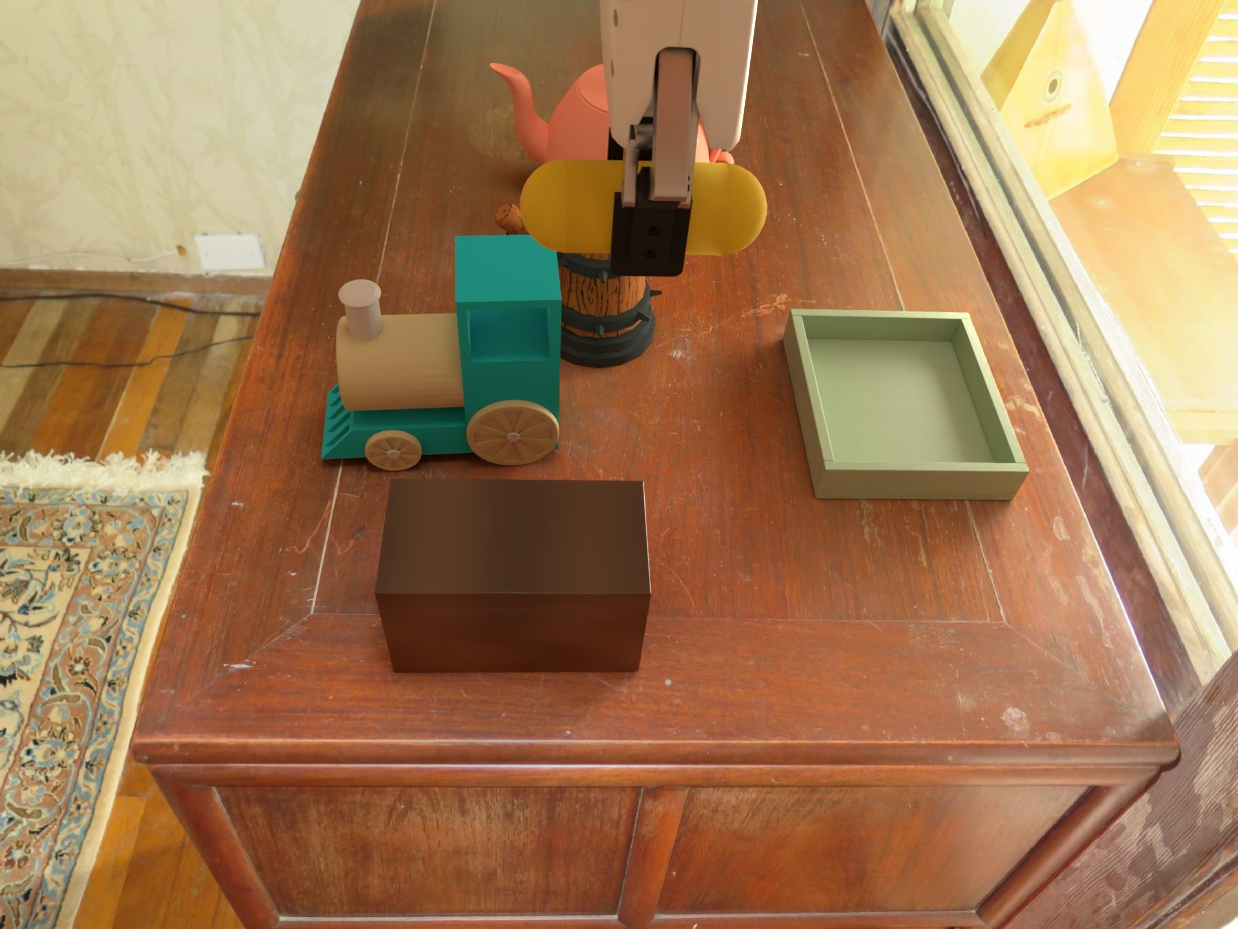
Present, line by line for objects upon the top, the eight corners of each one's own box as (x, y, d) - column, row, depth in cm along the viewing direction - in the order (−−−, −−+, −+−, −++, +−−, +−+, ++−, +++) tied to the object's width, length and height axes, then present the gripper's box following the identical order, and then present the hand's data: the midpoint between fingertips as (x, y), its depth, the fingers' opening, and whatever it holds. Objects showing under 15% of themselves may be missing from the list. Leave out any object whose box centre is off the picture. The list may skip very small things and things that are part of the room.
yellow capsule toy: (752, 219, 47) (767, 145, 44) (764, 273, 45) (781, 199, 42) (520, 215, 46) (519, 139, 43) (519, 270, 44) (518, 194, 41)
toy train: (330, 394, 74) (292, 231, 63) (551, 386, 76) (553, 226, 65) (322, 476, 69) (279, 315, 58) (558, 465, 71) (562, 308, 60)
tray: (1012, 500, 72) (1030, 471, 69) (815, 498, 71) (825, 469, 68) (955, 342, 82) (968, 312, 80) (782, 338, 81) (790, 308, 79)
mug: (653, 286, 84) (666, 169, 76) (662, 371, 78) (678, 254, 69) (500, 283, 84) (496, 164, 75) (496, 369, 77) (490, 250, 68)
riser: (633, 564, 66) (643, 480, 59) (638, 672, 61) (651, 594, 54) (406, 563, 65) (390, 477, 58) (393, 672, 60) (374, 593, 53)
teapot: (490, 237, 87) (483, 109, 78) (499, 138, 97) (494, 13, 88) (736, 246, 89) (760, 120, 79) (721, 147, 99) (740, 25, 89)
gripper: (858, -125, 26) (747, 368, 40) (765, -301, 37) (703, 138, 51) (574, -138, 26) (562, 367, 40) (563, -313, 36) (557, 134, 50)
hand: (642, 234), depth 45 cm, fingers closed on yellow capsule toy, 4 cm apart
